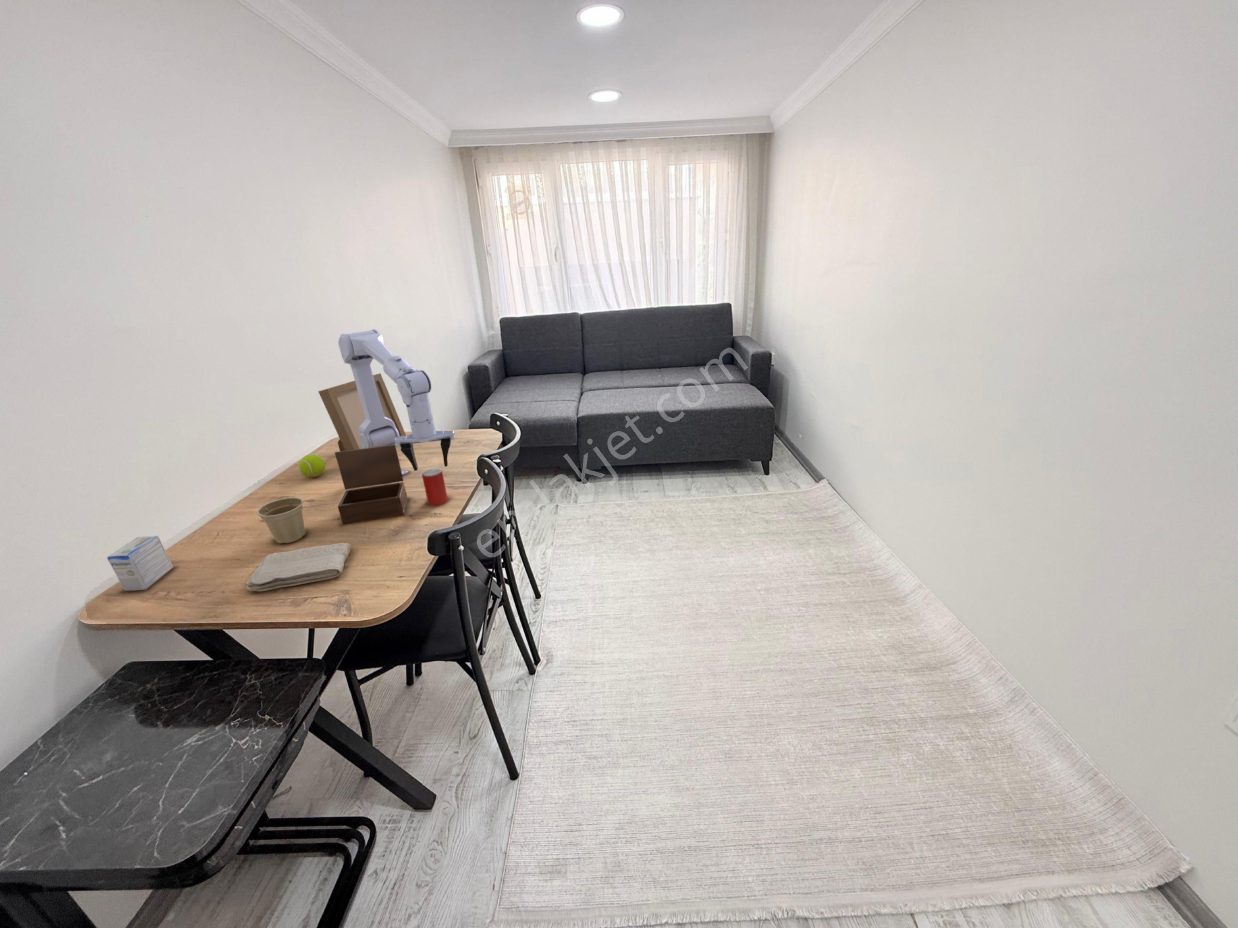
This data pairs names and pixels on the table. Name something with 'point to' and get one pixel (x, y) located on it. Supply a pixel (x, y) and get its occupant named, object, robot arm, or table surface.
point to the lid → (369, 466)
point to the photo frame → (355, 411)
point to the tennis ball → (312, 465)
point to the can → (435, 487)
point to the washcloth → (299, 567)
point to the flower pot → (284, 519)
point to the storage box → (373, 503)
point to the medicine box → (140, 563)
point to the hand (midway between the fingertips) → (431, 467)
